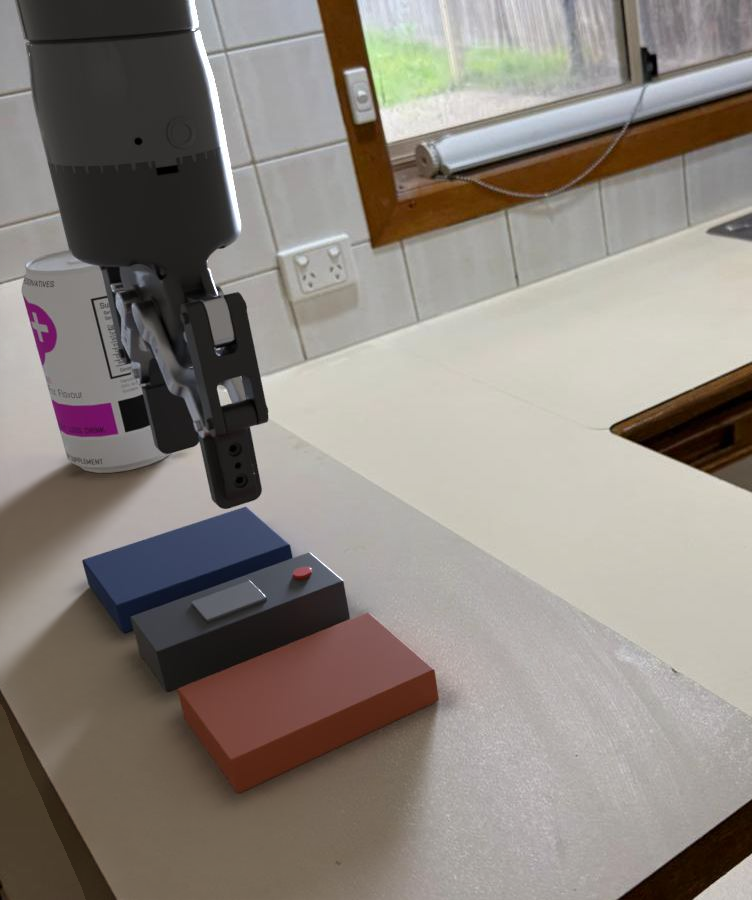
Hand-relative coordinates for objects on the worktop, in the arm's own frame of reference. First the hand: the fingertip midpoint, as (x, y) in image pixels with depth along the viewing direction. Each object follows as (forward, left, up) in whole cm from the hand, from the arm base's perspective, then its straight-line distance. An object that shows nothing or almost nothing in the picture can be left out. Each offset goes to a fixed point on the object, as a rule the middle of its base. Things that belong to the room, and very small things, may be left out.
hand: (207, 473), depth 57 cm
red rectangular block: (+7, -5, -10) cm, 13 cm away
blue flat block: (-6, +5, -10) cm, 13 cm away
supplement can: (-22, +22, -10) cm, 33 cm away
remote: (0, 0, -10) cm, 10 cm away
